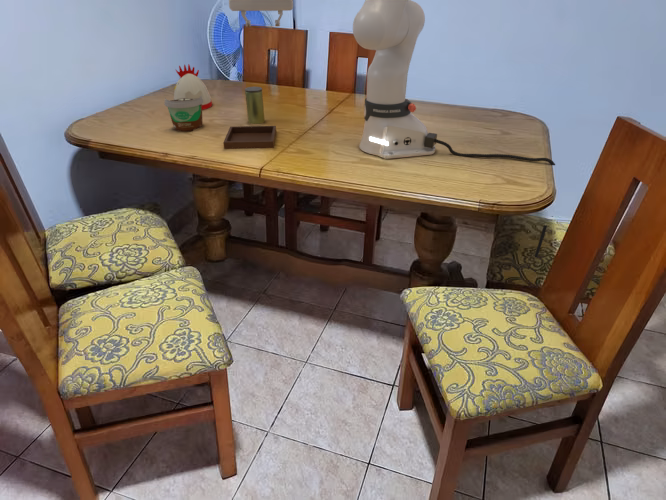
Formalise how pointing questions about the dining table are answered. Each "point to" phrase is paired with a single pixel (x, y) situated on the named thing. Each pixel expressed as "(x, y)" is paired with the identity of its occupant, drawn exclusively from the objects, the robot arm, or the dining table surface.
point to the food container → (185, 113)
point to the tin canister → (254, 105)
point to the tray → (250, 137)
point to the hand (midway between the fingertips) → (263, 26)
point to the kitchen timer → (191, 87)
